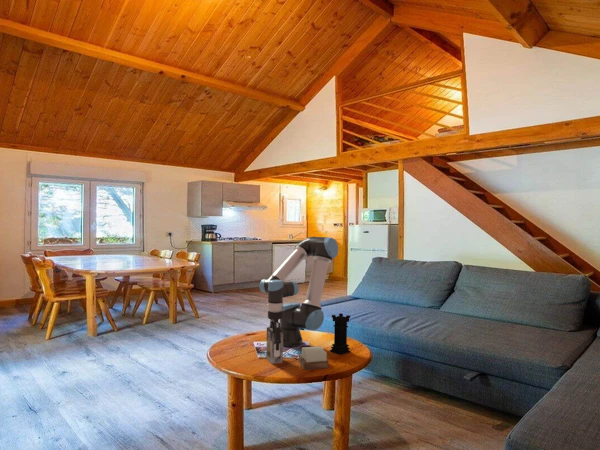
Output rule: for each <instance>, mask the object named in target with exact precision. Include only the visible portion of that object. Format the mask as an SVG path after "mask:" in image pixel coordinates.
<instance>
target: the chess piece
mask: <svg viewBox="0 0 600 450" xmlns="http://www.w3.org/2000/svg"><path fill="white" fill-rule="evenodd" d="M331 318H332V322H334V325H333V327H334V332H333V335H334V338H333V339H334V340H333V341H334V342H333V343H332V344H331V345H332V346H331V347H330V348H331V349H329V352H331V353H334V354H335V355H336V354H337V355H339V356H342V355H345V354H350V353H351V352H352V350H350V347H349V344H347V343H348V342H347V341H348V337H347V336H348V328H349V326H348V323H350V319H351V315H346V316H344V314H343V313H341V312H340V313H338V316H337V315H336V314H332V315H331ZM349 352H350V353H349Z"/></svg>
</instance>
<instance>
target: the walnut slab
mask: <svg viewBox="0 0 600 450" xmlns="http://www.w3.org/2000/svg"><path fill="white" fill-rule="evenodd" d="M298 363H299V364H300V366H301V367H302V369H303V370H304V371H308V370H309V371H311V370H324V369H329V360H328V359H327V361H318V362H306V361H305V359H304V358H303V357H302V354H298Z"/></svg>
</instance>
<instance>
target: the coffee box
mask: <svg viewBox="0 0 600 450" xmlns="http://www.w3.org/2000/svg"><path fill="white" fill-rule="evenodd" d="M280 336H281V343H280V357H274V344H273V343H274V342H275V339H274V331H273V329H272V328H271V327H270V326H269V327H266V351H265V353H266V356H265V357H266V358H265V359H267V361H268V362H269V363H270V364H271V365H273V364H282V363H283V362H284V359H283V357H284V356H283V355H284V346H283V331H282V330H281V329H280Z"/></svg>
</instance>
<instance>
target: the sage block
mask: <svg viewBox="0 0 600 450" xmlns="http://www.w3.org/2000/svg"><path fill="white" fill-rule="evenodd" d="M327 353H328V352H327V351H325V349H324V348H323V347H322V346H309V347H307V346H305V347H301V355H302V357H303V358H304V359H305V361H306V362H318V361H327V360H328V359H327V357H328V354H327Z"/></svg>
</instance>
